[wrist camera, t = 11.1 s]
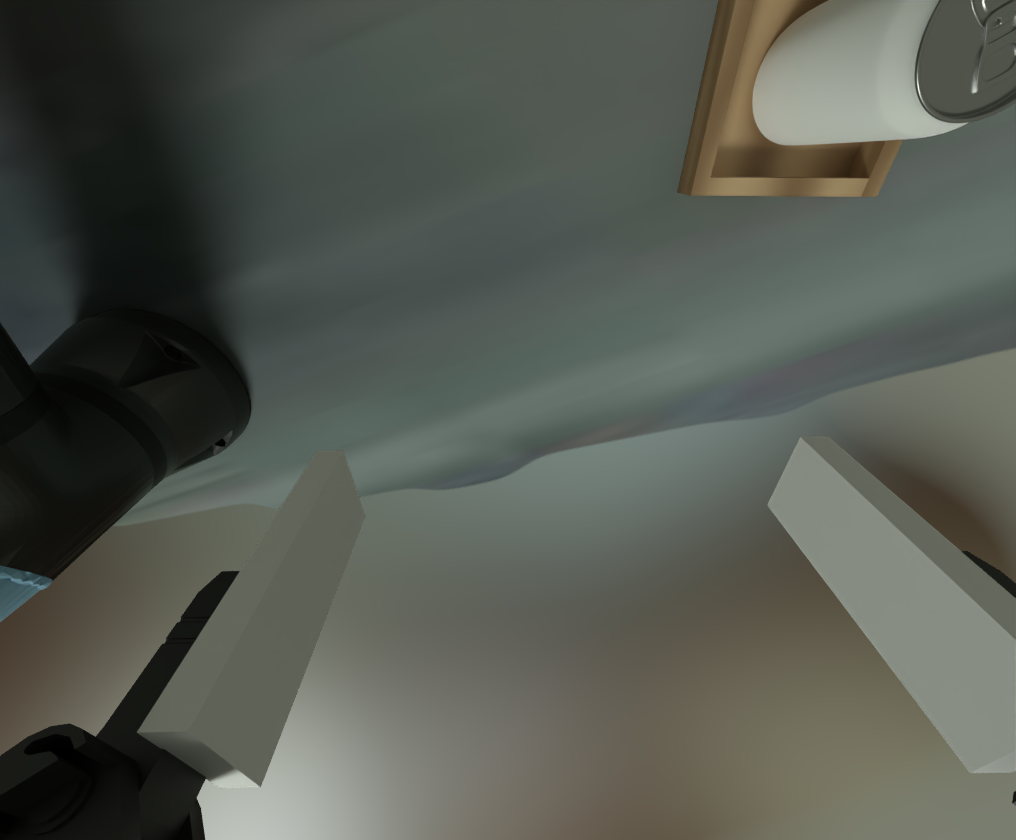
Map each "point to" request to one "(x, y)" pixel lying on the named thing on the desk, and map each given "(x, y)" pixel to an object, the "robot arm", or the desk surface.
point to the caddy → (734, 133)
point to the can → (886, 70)
